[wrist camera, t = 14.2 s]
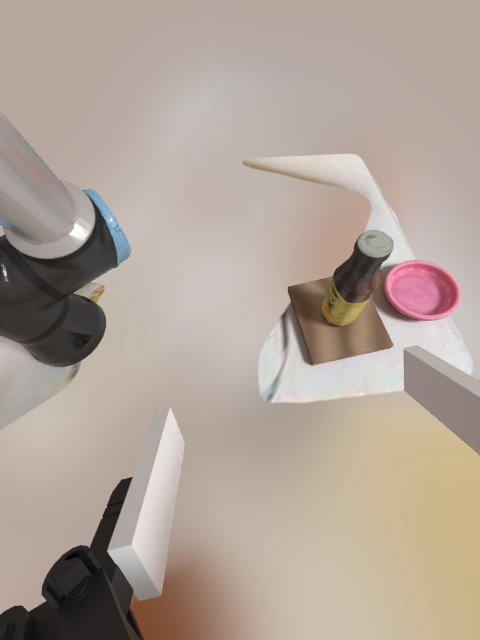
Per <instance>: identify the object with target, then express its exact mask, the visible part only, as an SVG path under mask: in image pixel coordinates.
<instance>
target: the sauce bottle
mask: <svg viewBox="0 0 480 640" xmlns="http://www.w3.org/2000/svg"><path fill="white" fill-rule="evenodd" d="M392 250H393V240H392V239H391V237H390V236H388V235H387V234H386V233H384V232H382V231H377V230H371V231H367V232H365V233H363V234H361V235H360V236H359V238H358V239H357V241H356V243H355V245H354V251H353V254H352V255H351V257H350V258H349V259H348V260H347V261H345V262H344V263H343V264H342V265H340V266H339V267H338V268H337V269H336V270H335V272H334V275H333V277H332V280H331V282H330V285H329V287H328V290H327V292H326V295H325V298H324V301H323V303H322V309H321V311H322V316H323V318H324V320H325V321H326V322H327V323H329V324H331V325H332V326H335V327H343V326H346V325H349V324H351V322H352V321H354V320H355V318H356V317H357V316H358V314H359V313H360V311H361V310H362V309H363V307H364V306H365V305H366V303H367V302H368V301H369V299H370V298H371V297H372V295H373V293H374V291H375V290H376V288H377V287H378V285H379V283H380V280H381V271H380V267H381V265H382V263H383V262H384V261H385V260H386V259H387V258H388V257H389V255H390V254H391V252H392Z"/></svg>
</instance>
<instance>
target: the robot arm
mask: <svg viewBox="0 0 480 640" xmlns="http://www.w3.org/2000/svg"><path fill="white" fill-rule="evenodd" d="M0 225H2V226H3V230H4V233H5V235H3V236H1V237H0V336H3V337H5V338H8V339H10V340H13V341H16V342H18V343H20V344H21V345H22V346H23V347H25V348H26V349H27V350H28V351H29V352H30V353H31V354H32V355H33V356H34V358H36V359H37V360H39V361H40V362H43V363H45V364H48V365H51V366H55V367H64V366H69V365H73V364H75V363H77V362H79V361H81V360H83V359H84V358H86V357H87V356H88V355H89V354H91V353H92V352H93V351H94V349H95V348H96V347H97V346H98V344H99V343H100V341H101V339H102V337H103V335H104V332H105V328H106V317H105V314H104V312H103V310H102V308H101V307H100V306H99V305H97V304H96V303H95V302H94V301H92V300H91V299H89V298H87V297H84V296H80V295H77V294H73V292H75V291H77V290H78V289H80V288H81V287H83V286H85V285H86V284H88V283H90V282H91V281H93V280H94V279H96V278H98V277H99V276H101V275H102V274H104V273H106V272H107V271H109V270H110V269H112V268H116V267H117V266H119V264H120V263H121V262H123V261H124V260H126V259H127V258H128V257H129V256H130V252H131V249H130V245H129V243H128V240H127V238H126V236H125V234H124V233H123V231H122V229H121V228H120V227H119V224H118V223H117V221H116V219H115V217H114V216H113V214H112V213H111V211H110V210H109V208H108V207H107V205H106V204H105V202H104V201H103V200H102V198H101V197H100V196H99V195H98V194H97V193H96V192H95V191H94V190H91V189H88V190H81V189H80V188H78V187H77V186H75V185H73V184H72V183H69V182H66V181H62V180H59V179H58V178H57V176H56V175H55V174H54V173H53V172H52V170H51V169H50V168H49V167H48V166H47V165H46V163H45V162H44V161H43V160H42V159H41V157H40V156H39V155H38V154H37V153H36V152H35V150H34V149H33V148H32V147H31V146H30V145H29V143H28V142H27V141H26V140H25V139H24V137H23V136H22V135H21V134H20V133H19V132H18V130H17V129H16V128H15V127H14V126H13V124H12V123H11V122H10V121H9V120H8V119H7V117H6V116H5V115H4V114H3V113H2V111H1V110H0ZM404 391H406V392H407V393H408V394H409V395H410V396H411V397H413V398H414V399H415V400H416V401H417V402H418V403H420V404H421V405H422V406H423V407H424V408H425V409H427V410H428V411H429V412H430V413H431V414H432V415H434V416H435V417H436V418H437V419H438V420H439V421H440V422H442V423H443V424H444V425H445V426H446V427H448V428H449V429H450V430H451V431H452V432H453V433H455V434H456V435H457V436H458V437H459V438H461V439H462V440H463V441H464V442H465V443H466V444H467V445H468V446H470V447H471V448H472V449H473V450H474V451H476V452H477V453H478V454H479V455H480V381H478V380H476V379H475V378H473V377H471V376H469V375H468V374H466V373H464V372H463V371H461V370H459V369H457V368H456V367H454V366H452V365H450V364H449V363H447V362H445V361H443V360H442V359H440V358H438V357H436V356H435V355H433V354H431V353H429V352H428V351H426V350H424V349H423V348H421V347H419V346H413V347H409V348H405V349H404ZM184 448H185V443H184V440H183V438H182V435H181V433H180V430H179V428H178V425H177V423H176V420H175V418H174V415H173V412H172V410H171V407H170V406H169V407H165V408H161V409H157V410H156V413H155V415H154V418H153V421H152V424H151V427H150V430H149V433H148V435H147V438H146V441H145V444H144V447H143V450H142V453H141V456H140V458H139V461H138V464H137V467H136V470H135V473H134V475H133V477H131V478H127V479H123V480H121V481H120V483H119V484H118V485H117V487H116V488H115V489H114V491H113V492H112V495H111V497H110V500H109V502H108V504H107V508H106V509H105V511H104V514H103V519H101V521H100V524H99V526H98V529H97V531H96V534H95V536H94V538H93V541H92V543H91V546H90V548H89V547H87V546H82V545H80V546H77V547H75V548H72V549H71V550H69V551H68V552H66V553H65V554H63V555H62V556H61V557H60V559H59V560H58V561H57V562H56V563H55V564H54V565H53V567H52V568H51V569H50V571H49V572H48V574H47V576H46V578H45V580H44V583H43V586H42V596H43V597H44V598H45V599H46V600H47V601H46V602H44V603H43V604H41V605H39V606H38V607H36V608H34V609H33V610H31V611H29V612H28V611H27V610H26V609H25V608H24V607H23V606H14V607H12V608H10V609H8V610H6V611H4V612H3V613H2V614H1V615H0V640H144V638H143V636H142V634H141V631H140V629H139V627H138V624H137V622H136V619H135V617H134V615H133V612H132V610H131V609H130V603H131V599H132V595H133V592H134V594H135V595H136V597H137V598H138V600H139V601H141V600H145V599H149V598H154V597H158V596H161V593H162V587H163V580H164V574H165V567H166V561H167V555H168V548H169V542H170V536H171V530H172V523H173V517H174V511H175V505H176V499H177V492H178V486H179V479H180V473H181V467H182V461H183V455H184Z"/></svg>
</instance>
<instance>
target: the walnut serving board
mask: <svg viewBox="0 0 480 640" xmlns="http://www.w3.org/2000/svg"><path fill="white" fill-rule="evenodd" d="M331 280H332V277H329V278H325V279H320V280H316V281H312V282H307V283H303V284H299V285H294V286H290V287H288V293H289V296H290V299H291V302H292V305H293V308H294V311H295V314H296V317H297V320H298V323H299V326H300V329H301V332H302V336H303V339H304V342H305V345H306V348H307V351H308V354H309V357H310V360H311V363H312V366H313V365H317V364H321V363H326V362H330V361H335V360H339V359H344V358H348V357H353V356H357V355H362V354H366V353H371V352H375V351H379V350H384V349H388V348H391V347H392V346H393V343H392V341H391V339H390V337H389V335H388V333H387V331H386V329H385V327H384V325H383V323H382V320H381V318H380V316H379V314H378V312H377V310H376V308H375V306H374V304H373V302H372V300H371V298H370V299H369V301H368V302H367V303H366V305H365V306H364V307H363V309H362V310H361V311H360V313H359V314H358V316H357V317H356V318H355V320H354V321H352V322H351V324H349V325H346V326H343V327H335V326H332V325H331V324H329V323H327V322H326V321H325V320H324V318H323V316H322V311H321V309H322V303H323V301H324V298H325V295H326V292H327V290H328V287H329V285H330V282H331Z"/></svg>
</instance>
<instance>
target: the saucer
mask: <svg viewBox="0 0 480 640" xmlns="http://www.w3.org/2000/svg"><path fill="white" fill-rule="evenodd" d="M384 292H385V295H386V297H387V299H388V301H389V302H390V304H391V305H392V306H393V307H394V308H395V309H396V310H397V311H399V312H400V313H402V314H404V315H406V316H408V317H411V318H414V319H417V320H424V321H432V320H438V319H442V318H444V317H446V316H448V315H450V314H451V313H452V312H454V311H455V310H456V309H457V307H458V306H459V304H460V301H461V289H460V287H459V284H458V282H457V281H456V279H455V278H454V277H453V275H451V274H450V273H449V272H448V271H447V270H445V269H444V268H442V267H441V266H438V265H436V264H434V263H431V262H427V261H420V260H412V261H406V262H403V263H400V264H398V265H396V266H395V267H393V268H392V269H391V270H390V271H389V273H388V274H387V276H386V278H385V281H384Z"/></svg>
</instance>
